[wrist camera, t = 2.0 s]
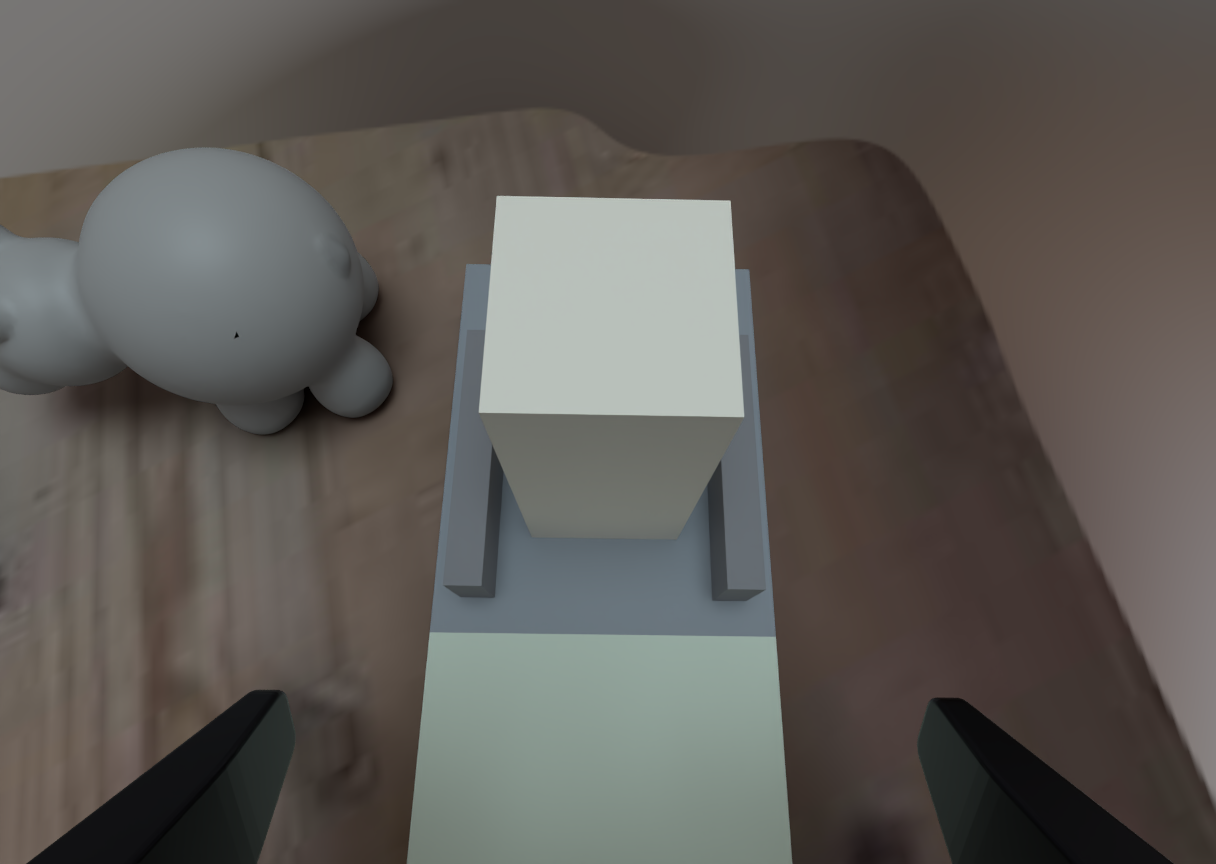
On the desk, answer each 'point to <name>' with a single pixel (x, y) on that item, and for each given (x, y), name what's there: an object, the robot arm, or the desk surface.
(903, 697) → the desk surface
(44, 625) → the desk surface
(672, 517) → the block
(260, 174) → the grey rounded figurine
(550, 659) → the channel
